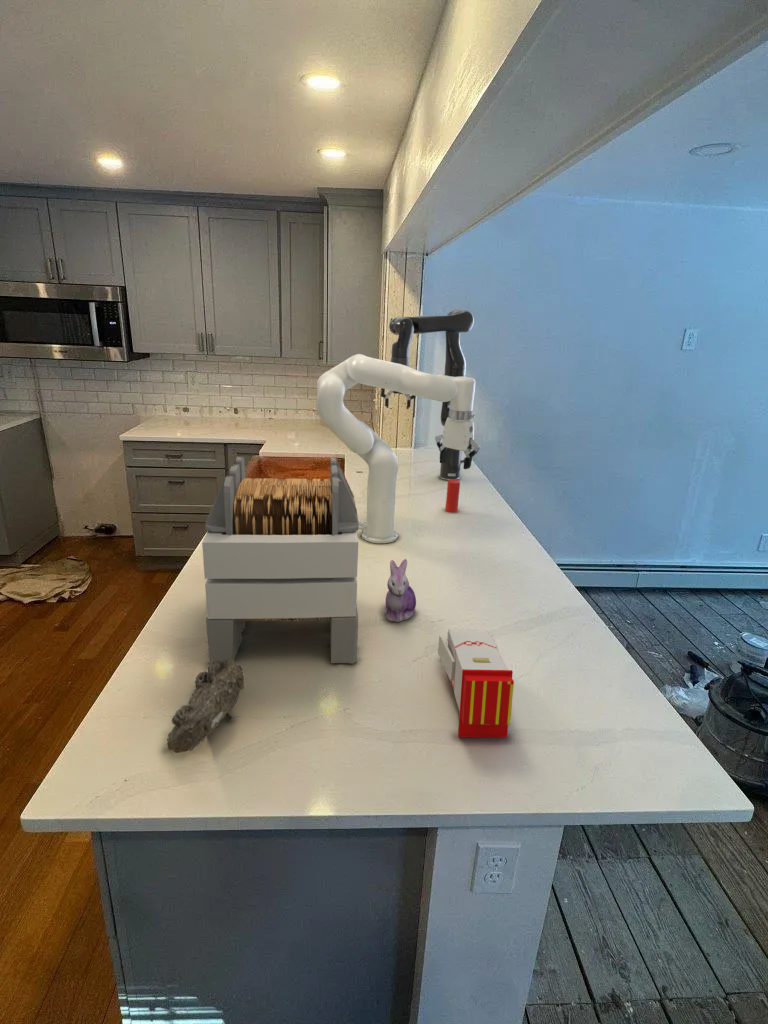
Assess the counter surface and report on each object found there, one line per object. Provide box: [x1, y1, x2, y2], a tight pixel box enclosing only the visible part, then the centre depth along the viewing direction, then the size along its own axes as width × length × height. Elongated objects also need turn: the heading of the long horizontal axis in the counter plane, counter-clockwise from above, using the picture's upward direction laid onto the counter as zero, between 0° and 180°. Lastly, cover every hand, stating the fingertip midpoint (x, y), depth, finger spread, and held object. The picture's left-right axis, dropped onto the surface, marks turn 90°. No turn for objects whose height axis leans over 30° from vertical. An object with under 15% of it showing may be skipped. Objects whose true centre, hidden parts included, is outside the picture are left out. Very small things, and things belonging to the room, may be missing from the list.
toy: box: [437, 628, 515, 738], centre depth 117 cm, size 12×13×30 cm
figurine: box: [384, 558, 417, 623], centre depth 145 cm, size 9×10×15 cm
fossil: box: [166, 659, 245, 754], centre depth 106 cm, size 22×10×15 cm
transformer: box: [201, 455, 360, 666], centre depth 133 cm, size 34×33×41 cm
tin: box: [445, 480, 461, 514], centre depth 224 cm, size 5×5×12 cm
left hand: (454, 465), depth 192 cm, fingers open, 9 cm apart
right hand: (397, 408), depth 238 cm, fingers open, 8 cm apart
